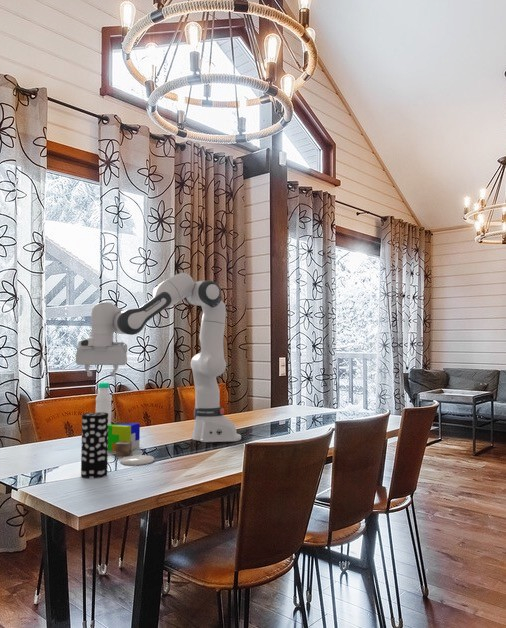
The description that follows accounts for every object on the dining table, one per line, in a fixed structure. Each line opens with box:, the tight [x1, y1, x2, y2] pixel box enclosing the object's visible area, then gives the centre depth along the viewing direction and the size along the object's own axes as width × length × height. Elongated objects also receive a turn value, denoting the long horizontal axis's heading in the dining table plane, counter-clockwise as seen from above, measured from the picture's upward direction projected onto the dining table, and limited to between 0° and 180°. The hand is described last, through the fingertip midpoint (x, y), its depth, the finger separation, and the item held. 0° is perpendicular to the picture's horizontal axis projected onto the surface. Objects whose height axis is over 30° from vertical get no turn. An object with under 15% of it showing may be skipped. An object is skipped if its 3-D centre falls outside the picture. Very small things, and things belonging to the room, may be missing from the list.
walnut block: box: [114, 441, 133, 458], centre depth 201 cm, size 5×5×5 cm
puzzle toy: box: [108, 421, 141, 452], centre depth 214 cm, size 10×10×10 cm
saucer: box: [119, 454, 155, 466], centre depth 191 cm, size 12×12×1 cm
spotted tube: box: [80, 412, 109, 480], centre depth 172 cm, size 8×8×20 cm
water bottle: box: [94, 382, 112, 425], centre depth 239 cm, size 7×7×25 cm
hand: (101, 376), depth 209 cm, fingers open, 8 cm apart
